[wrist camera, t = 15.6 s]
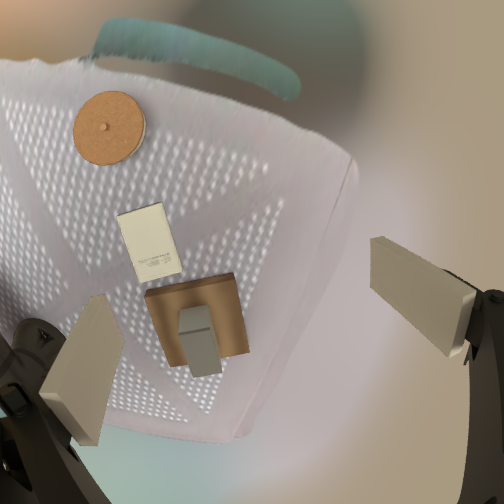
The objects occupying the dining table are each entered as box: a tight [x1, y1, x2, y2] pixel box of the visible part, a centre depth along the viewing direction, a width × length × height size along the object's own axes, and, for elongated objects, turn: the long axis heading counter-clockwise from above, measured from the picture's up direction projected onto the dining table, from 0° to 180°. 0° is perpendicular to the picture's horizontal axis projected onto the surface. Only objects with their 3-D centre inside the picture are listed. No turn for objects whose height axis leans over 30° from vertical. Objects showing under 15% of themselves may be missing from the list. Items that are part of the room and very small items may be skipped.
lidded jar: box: [73, 91, 146, 165], centre depth 38 cm, size 11×11×9 cm
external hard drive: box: [116, 202, 183, 283], centre depth 49 cm, size 2×8×12 cm
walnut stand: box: [144, 273, 250, 367], centre depth 54 cm, size 16×16×3 cm
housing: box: [178, 304, 222, 378], centre depth 49 cm, size 5×9×8 cm, turn 9°
